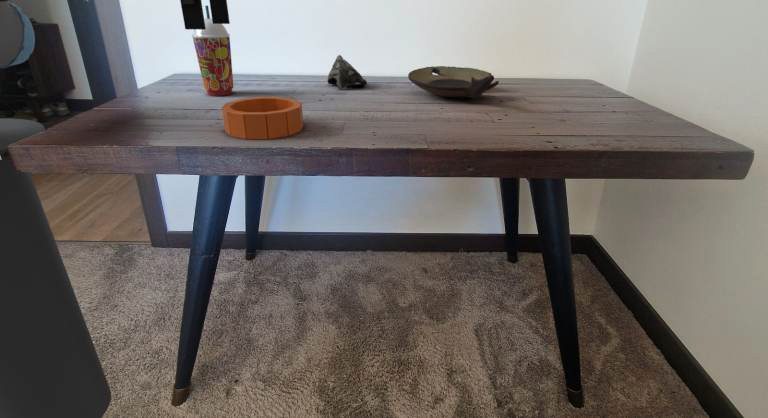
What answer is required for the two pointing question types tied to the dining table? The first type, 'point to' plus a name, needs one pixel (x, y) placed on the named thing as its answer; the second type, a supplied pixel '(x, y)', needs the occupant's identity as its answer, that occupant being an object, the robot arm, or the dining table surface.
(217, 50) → the smoothie
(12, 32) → the robot arm
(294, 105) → the ring
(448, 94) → the broken bowl
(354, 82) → the fossil
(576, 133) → the dining table surface
